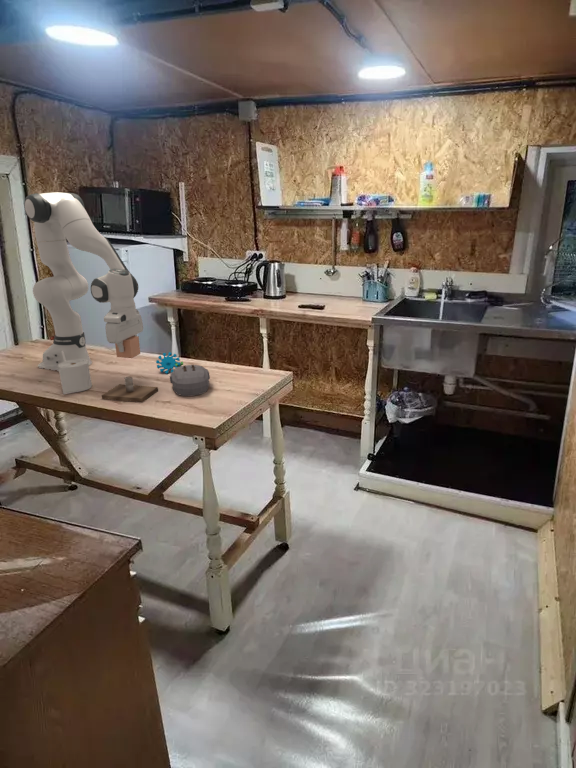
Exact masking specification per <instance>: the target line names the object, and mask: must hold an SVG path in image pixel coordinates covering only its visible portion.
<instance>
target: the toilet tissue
mask: <svg viewBox="0 0 576 768" xmlns="http://www.w3.org/2000/svg"><path fill="white" fill-rule="evenodd" d="M58 368H59V371H58V372H59V373H58V374H59V378H60V383H61V389H62V394H63V395H67V394H73V393H74V394H75V393H80V392H84V391H87V390H89V389H90V388H91V389H92V386H93V385H92V383H93V382H92V377H91V371H90V365H89V364H88V361H87V360H83V359H75V360H68V361H64V362H61V363H59V364H58Z"/></svg>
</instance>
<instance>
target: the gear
mask: <svg viewBox="0 0 576 768" xmlns="http://www.w3.org/2000/svg"><path fill="white" fill-rule="evenodd" d="M162 356H163V358H162ZM157 358H158V359H157V360H156V361H155V363H156V364H157V365H156V369H159V371H160V372H161V373H163V372H164V373H165V374H166V375H168V374H169V371H170V373H172V372H173V371H174V370H175V369H176V368H177V367H180V366H184V362H183V361H181V359H180V357H179V356H178V357H177V354H176V353H173V355H172V352H171V351H169V352H168V354H167V353H166V352H163V353H162V355H159V356H157ZM174 368H175V369H174Z"/></svg>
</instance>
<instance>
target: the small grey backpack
mask: <svg viewBox="0 0 576 768" xmlns="http://www.w3.org/2000/svg"><path fill="white" fill-rule="evenodd" d="M173 370H174V371H173V372H172V373H171V372H170V374H169V375H170V376H169V382H170V384H171V385H172V388H173V391H174V392H175V393H176V394H177V395H178V396H183V397H189V396H190V397H192V396H197V395H198V396H199V395H202V394H205V393H206V392H208V389H209V387H210V379H211V375H210V372H209V370H208V368H206V367H203V366H202V365H199V364H198V365H197V364H186V365H185V364H184V365H181V366H180V367H177V368H176V369H173Z"/></svg>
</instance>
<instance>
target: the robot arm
mask: <svg viewBox="0 0 576 768" xmlns="http://www.w3.org/2000/svg"><path fill="white" fill-rule="evenodd" d="M23 205H24V206H23V207H24V212H25V214H26V216H27V217H28V219H29V220H30V221H32V222H33V224H34V235H35V241H36V244H37V249H38V254H39V258H40V261H41V263H42V265H44V266H47V267H48V268H49V270H50V271H51V272H52V275H53V276H50V277H45V278H43V279H39V281H38V280H37V281H36V283H34V284H33V287H32V293H33V297H34V298H35V300H36V301H37V302H38V303H39V304H41V305H42V306H44V307H45V309H46V310H47V311H48V313H49V315H50V317H51V320H52V324H53V329H54V335H53V336H50V341H52V340H53V341H52V344H51V345H50V346H49V347H47V349H46V350H44V352H43V354H42V361H41V362H39V363H38V365H37V368H38V367H39V368H38V369H43V368H45V369H44V370H49V369H51V370H50V371H55V370H57V371H56V372H59V368H58V364H59V363H61V362H64V361H68V360H75V359H83V360H87V361H88V364H89V366H90V365H92V363H93V362H92V359H91V357H90V355H89V352H88V349H87V345H86V342H87V341H86V334H85V332H84V329H83V324H82V319H81V318H82V316H81V315H80V313H78V312H77V311H75V310H74V309H73V308H72V306H71V303H70V301H75V300H78V299H80V298H82V297H83V296H85V295H86V294H87V293H88V291H89V283H88V280H87V279H86V277H84V276H83V275H82V274H80V273H79V272H78V269H76V267H75V265H74V263H73V261H72V259H71V256H70V251H69V247H68V243H69V244H70V246H72V247H73V248H74V249H77V250H79V251H82V252H86V253H91V254H93V255H96V256H98V257H100V258H102V260H104V263H106V265H107V266H108V268H109V270H108V271H107V273H105V274H104V275H102V276H99V277H96V278H93V280H92V281H91V284H90V294H91V296H92V298H93V299H94V300H95V301H96V302H98V303H103V304H105V303H109V304H110V309H109V311H108V312H107V313H106V314H105V315H104V317H103V321H104V322H105V323H106V324H105V335H106V336H105V337H106V341H107V342H108V343H109V344H117V346H118V347H119V352H124V351H125V347H124V346H123V344H122V343H123V340H125V339H128V338H130V337H132V336H138V334H140V333H142V332H143V331H144V322H143V318H142V316H141V313H140V311H139V310H138V309H137V308H136V307H137V306H136V303H135V297H136V296H137V294H138V292H139V282H138V281H137V279H136V278H135V276H133V274H132V273H131V271H129V269H128V268H127V266H126V265H125V263H124V262H123V260H122V258H121V257H120V255H119V253H118V252H117V250H116V248H114V247H115V246H113V244H112V243H111V241H110V240H109V239H108V238H106V237H105V236H104V235H102V234H101V233H100V232H99V230H97V228H96V227H95V225H94V223H93V222H92V220H91V218H90V216H89V214H88V212H87V210H86V209H85V203H84V201H83V199H82V198H81V197H80V195H79V194H77V193H73V192H61V191H52V192H43V193H36V192H35V193H31V194H28V195H27V196H26V197H25V199H24V203H23Z"/></svg>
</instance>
